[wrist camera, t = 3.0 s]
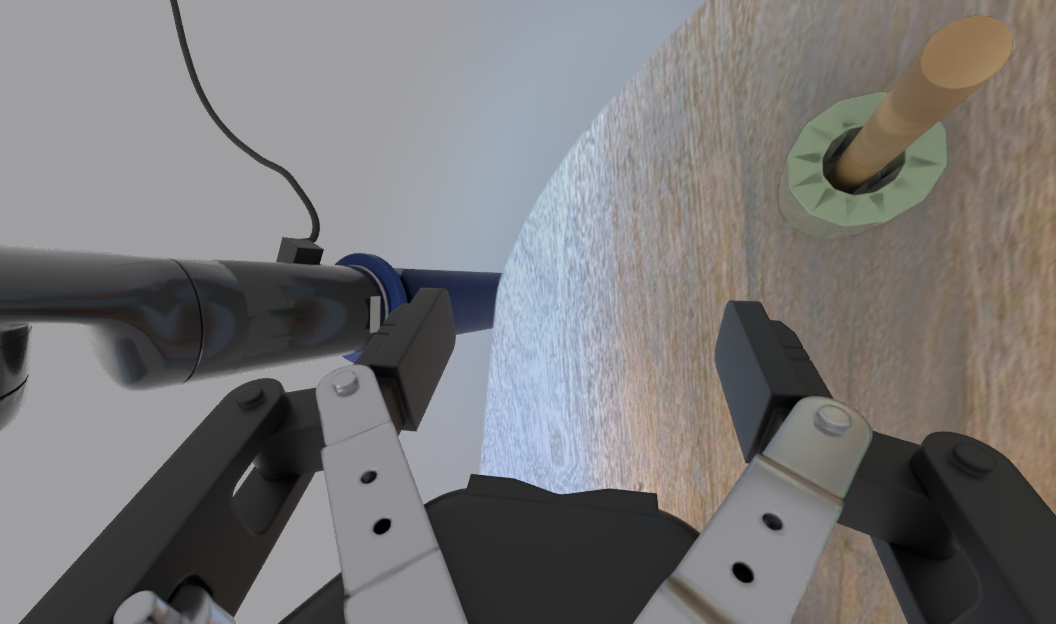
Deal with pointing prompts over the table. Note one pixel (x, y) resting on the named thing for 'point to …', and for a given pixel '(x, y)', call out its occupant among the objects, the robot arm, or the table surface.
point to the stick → (925, 95)
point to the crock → (875, 202)
